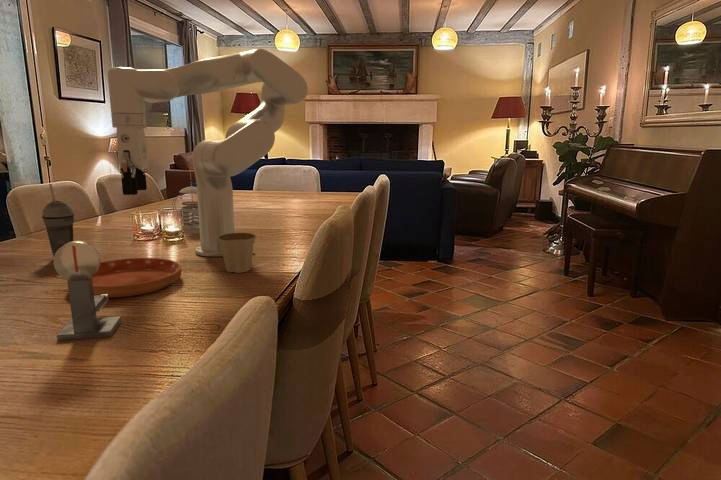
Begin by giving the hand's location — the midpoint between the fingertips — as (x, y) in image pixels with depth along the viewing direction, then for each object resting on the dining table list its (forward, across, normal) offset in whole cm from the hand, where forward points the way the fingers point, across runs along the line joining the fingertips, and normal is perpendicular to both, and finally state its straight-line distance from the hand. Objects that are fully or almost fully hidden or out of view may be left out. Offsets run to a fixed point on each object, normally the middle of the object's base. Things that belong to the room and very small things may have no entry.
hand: (135, 192), depth 118 cm
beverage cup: (+19, +10, +22) cm, 30 cm away
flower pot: (+19, -9, -25) cm, 32 cm away
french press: (+19, +44, -7) cm, 49 cm away
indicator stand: (+19, -42, -1) cm, 46 cm away
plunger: (+17, -37, -1) cm, 40 cm away
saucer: (+19, -17, -1) cm, 26 cm away
